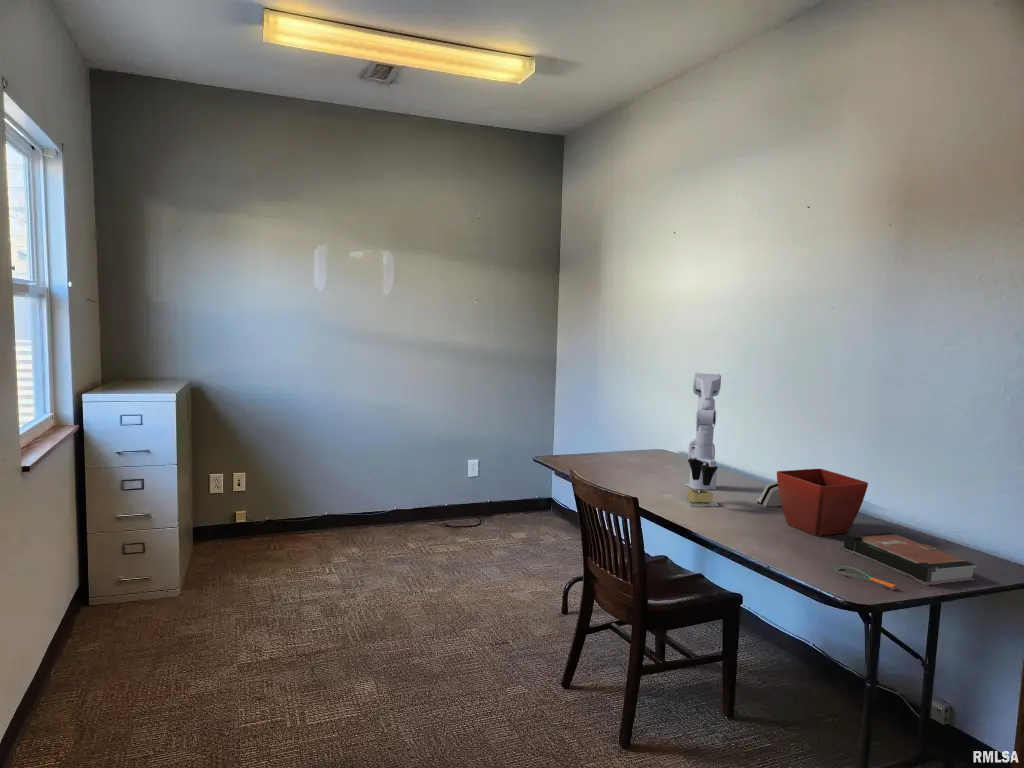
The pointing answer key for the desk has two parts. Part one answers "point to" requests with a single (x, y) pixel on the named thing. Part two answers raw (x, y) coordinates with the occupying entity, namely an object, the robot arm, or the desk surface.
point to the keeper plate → (699, 504)
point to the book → (909, 556)
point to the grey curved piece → (770, 495)
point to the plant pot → (820, 500)
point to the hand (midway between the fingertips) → (701, 482)
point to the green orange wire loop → (871, 578)
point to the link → (699, 496)
